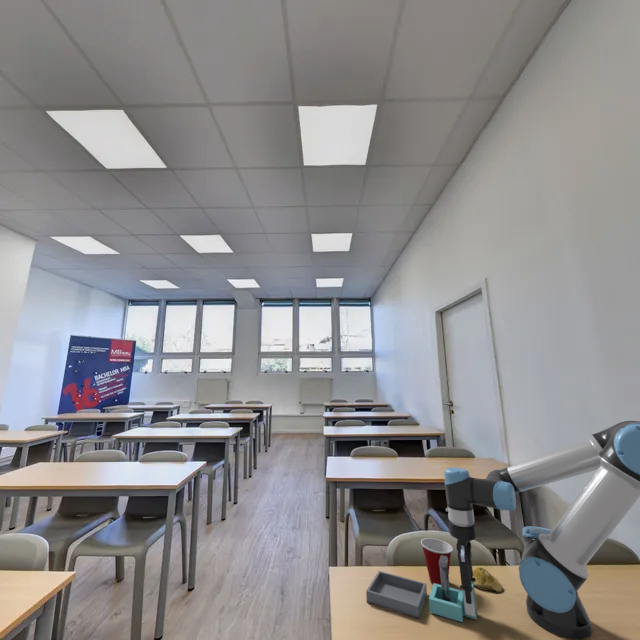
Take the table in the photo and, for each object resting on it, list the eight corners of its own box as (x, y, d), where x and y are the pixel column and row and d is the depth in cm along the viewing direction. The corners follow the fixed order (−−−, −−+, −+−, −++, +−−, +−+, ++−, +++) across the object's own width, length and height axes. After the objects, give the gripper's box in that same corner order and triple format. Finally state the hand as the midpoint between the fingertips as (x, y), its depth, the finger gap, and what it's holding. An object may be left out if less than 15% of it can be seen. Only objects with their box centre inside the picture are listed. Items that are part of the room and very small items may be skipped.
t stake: (456, 606, 95) (452, 557, 98) (455, 616, 91) (450, 565, 94) (439, 601, 98) (435, 553, 101) (437, 611, 93) (433, 561, 96)
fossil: (500, 562, 109) (492, 575, 102) (507, 583, 107) (499, 597, 99) (469, 560, 115) (459, 572, 108) (475, 580, 113) (466, 593, 106)
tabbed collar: (477, 607, 94) (474, 577, 96) (476, 626, 87) (472, 593, 89) (434, 595, 100) (432, 567, 102) (430, 612, 92) (427, 581, 94)
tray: (426, 594, 101) (426, 583, 102) (419, 618, 90) (418, 606, 91) (379, 580, 109) (378, 570, 109) (366, 602, 98) (366, 590, 98)
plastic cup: (461, 593, 102) (457, 551, 105) (428, 592, 102) (425, 550, 105) (449, 574, 112) (446, 537, 115) (419, 573, 113) (417, 536, 116)
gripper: (451, 511, 106) (459, 592, 100) (445, 529, 92) (454, 624, 86) (475, 515, 102) (485, 599, 97) (473, 534, 88) (484, 633, 83)
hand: (470, 610), depth 92 cm, fingers closed on tabbed collar, 3 cm apart
